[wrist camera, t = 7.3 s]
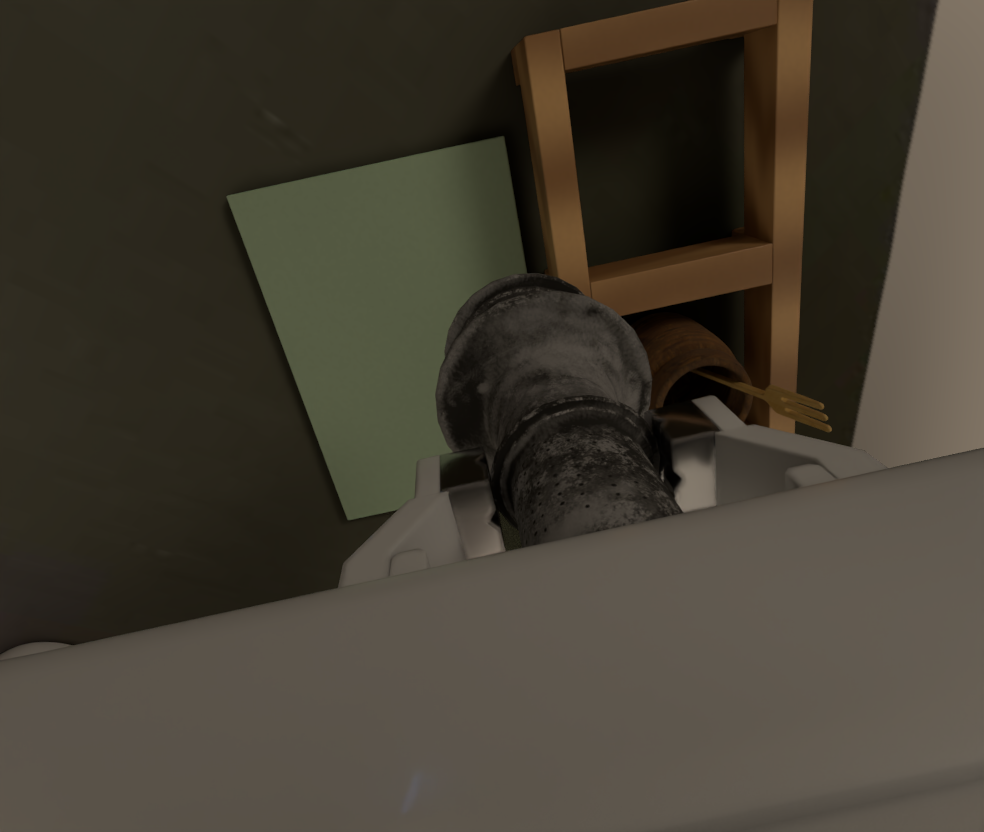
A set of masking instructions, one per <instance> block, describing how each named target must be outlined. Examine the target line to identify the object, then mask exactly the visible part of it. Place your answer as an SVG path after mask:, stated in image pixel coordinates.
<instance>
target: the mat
mask: <svg viewBox="0 0 984 832" xmlns="http://www.w3.org/2000/svg"><path fill="white" fill-rule="evenodd" d="M227 200H228V203H229V205H230V208H231V211H232V213H233V216H234V219H235V221H236V224H237V227H238V229H239V232H240V235H241V237H242V240H243V243H244V245H245V248H246V251H247V253H248V256H249V259H250V261H251V264H252V267H253V269H254V272H255V275H256V277H257V280H258V283H259V285H260V288H261V291H262V293H263V296H264V299H265V301H266V304H267V307H268V309H269V312H270V315H271V317H272V320H273V323H274V325H275V328H276V331H277V333H278V336H279V339H280V341H281V344H282V347H283V349H284V352H285V355H286V357H287V360H288V363H289V365H290V368H291V371H292V373H293V376H294V379H295V381H296V384H297V387H298V389H299V392H300V395H301V397H302V400H303V403H304V405H305V408H306V411H307V413H308V416H309V419H310V421H311V424H312V427H313V429H314V432H315V435H316V437H317V440H318V443H319V445H320V448H321V451H322V453H323V456H324V459H325V461H326V464H327V467H328V469H329V472H330V475H331V477H332V480H333V483H334V485H335V488H336V491H337V493H338V496H339V498H340V501H341V504H342V506H343V509H344V512H345V514H346V517H347V520H353V519H357V518H362V517H367V516H371V515H376V514H381V513H385V512H390V511H395V510H398V509H399V508H400V507H401V506H402V505H403V504H405V503H406V502H407V501H408V500H409V499H414V497H415V480H416V463H417V461H418V460H419V459H423V458H427V457H431V456H435V455H442V454H447V453H452V450H451V449H450V448H449V447H448V445H447V443H446V441H445V438H444V436H443V433H442V431H441V428H440V426H439V423H438V419H437V409H436V398H435V392H436V387H437V382H438V377H439V371H440V367H441V365H442V363H443V361H444V359H445V353H444V350H445V345H446V340H447V335H448V330H449V328H450V326H451V324H452V322H453V320H454V318H455V316H456V314H457V312H458V310H459V309H460V308H461V307H462V306H463V305H464V304H465V302H466V301H467V300H468V299H469V298H470V297H471V296H472V295H473V294H474V293H475V292H477V291H478V290H480V289H481V288H483V287H484V286H486V285H487V284H489V283H490V282H492V281H495V280H498V279H501V278H504V277H507V276H510V275H513V274H526V273H527V268H526V262H525V256H524V250H523V244H522V238H521V232H520V226H519V220H518V214H517V208H516V202H515V196H514V190H513V184H512V178H511V172H510V166H509V160H508V154H507V148H506V142H505V137H504V136H499V137H494V138H490V139H485V140H480V141H476V142H471V143H466V144H462V145H457V146H453V147H448V148H443V149H439V150H434V151H430V152H425V153H420V154H416V155H411V156H407V157H402V158H397V159H393V160H388V161H384V162H379V163H374V164H370V165H365V166H361V167H356V168H351V169H347V170H342V171H338V172H333V173H328V174H324V175H319V176H315V177H310V178H305V179H301V180H296V181H292V182H287V183H282V184H278V185H273V186H269V187H264V188H259V189H255V190H250V191H246V192H241V193H236V194H232V195H228V196H227Z"/></svg>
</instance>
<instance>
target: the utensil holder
mask: <svg viewBox="0 0 984 832" xmlns="http://www.w3.org/2000/svg"><path fill="white" fill-rule="evenodd" d="M630 326H631V327H632V328H633V329H634V330H635V332H636V334H637V336H638V338H639V339H640V341H641V343H642V345H643V347H644V349H645V350H646V352H647V356H648V361H649V365H650V370H651V375H652V388H651V400H650V406H649V409H648V410H652V409H656V408H660V407H664V406H668V405H672V404H676V403H680V402H684V401H689V400H694V399H698V398H702V397H705V396H709V395H712V396H715V397H716V398H717V399H719V400H720V401H721V402H722V403H723V404H724V405H725V406H726V407H727V408H728V409H729V410H731V411H732V412H733V413H734V414H735V415H736V416H737V417H738V418H739V419H740V420H741V421H742V422H744V421H745V419H746V418H747V416H748V414H749V411H750V409H751V405H752V400H753V396H756V397H759V398H761V399H764V400H765V401H766V402H767V403H768V404H769V405H770V406H771V408H772V409H773V410H774V411H775V412H776V413H778V414H780V415H783V416H785V417H788V418H791V419H793V420H796V421H799V422H802V423H804V424H807V425H810V426H813V427H815V428H818V429H821V430H824V431H826V432H831V431H832V428H831V427H830V426H829V425H826V424H824V423H822V422H819V421H817V420H814V419H812V418H810V417H807V416H805V415H803V414H806V415H808V416H811V417H814V418H817V419H820V420H823V421H826V420H828V417H827V415H825V414H823V413H821V412H818V411H816V410H813V409H811V408H808V407H806V406H803V405H801V404H798V403H796V402H799V403H802V404H805V405H808V406H811V407H814V408H817V409H820V410H822V409H823V408H824V405H823V404H822V403H820V402H818V401H815V400H812V399H810V398H807V397H805V396H802V395H799V394H797V393H794V392H791V391H789V390H786V389H783V388H781V387H778V386H775V385H772V384H771V385H769V386H768V387H766V389H765V391H764V390H761V389H758V388H755V387H753V386H752V383H751V380H750V378H749V376H748V374H747V373H746V371H745V369H744V368H743V367H742V365H741V364H740V363H739V362H738V361H737V360H736V358H735V357H734V355H733V353H732V352H731V350H730V349H729V348H728V347H727V345H726V344H725V343H724V342H723V341H721V340H720V339H719V338H718V337H717V336H715V335H714V334H713V333H711V332H710V331H709V330H707V329H706V328H705V327H703V326H702V325H700V324H699V323H697V322H696V321H694V320H693V319H691V318H689V317H687V316H684V315H681V314H678V313H673V312H659V313H654V314H650V315H647V316H645V317H643V318H641V319H639V320H637V321H636V322H634V323H633V324H631V325H630ZM788 399H790V400H788ZM791 400H793V401H796V402H793V401H791ZM793 410H794V411H793ZM795 411H797V412H795ZM798 412H800V413H803V414H800V413H798Z"/></svg>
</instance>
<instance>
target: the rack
mask: <svg viewBox="0 0 984 832" xmlns="http://www.w3.org/2000/svg"><path fill="white" fill-rule="evenodd" d="M812 13H813V0H689V1H685V2H680V3H676V4H671V5H666V6H662V7H657V8H653V9H648V10H644V11H639V12H634V13H630V14H625V15H621V16H616V17H611V18H607V19H602V20H598V21H593V22H589V23H584V24H579V25H575V26H570V27H566V28H561V29H560V30H552V31H548V32H543V33H538V34H534V35H529V36H525V37H524V38H523V39H522V40H521V41H520V42H519V43H518V44H517V45H516V46H515V47H514V48H513V49H512V50H511V56H512V63H513V69H514V76H515V82H516V86H518V85H521V92H522V99H523V105H524V112H525V119H526V125H527V132H528V139H529V145H530V152H531V159H532V165H533V172H534V179H535V185H536V192H537V198H538V205H539V212H540V218H541V225H542V232H543V238H544V245H545V252H546V258H547V265H548V269H546V270H544V271H545V275H549V276H554V277H558V278H560V279H562V280H564V281H566V282H568V283H570V284H572V285H573V286H575V287H577V288H578V289H579V290H580V291H581V292H582V293H583V294H584V295H585V296H588V297H590V298H592V299H594V300H596V301H598V302H600V303H602V304H604V305H606V306H608V307H609V308H611V309H613V310H614V311H615V312H616V313H617V314H618V315H620V316H624V315H628V314H633V313H638V312H642V311H647V310H651V309H656V308H661V307H665V306H670V305H675V304H679V303H684V302H689V301H693V300H698V299H703V298H707V297H712V296H716V295H721V294H726V293H730V292H735V291H740V290H744V369H745V371H746V373H747V374H748V376H749V378H750V380H751V383H752V386H753V387H755V388H758V389H761V390H764V391H765V389H766V387H768V386H769V385H771V384H772V385H775V386H778V387H781V388H783V389H786V390H789V391H791V392H794V393H796V386H797V362H798V339H799V316H800V293H801V269H802V246H803V223H804V200H805V176H806V153H807V130H808V107H809V83H810V60H811V37H812ZM743 36H744V227H742V228H737V229H733V230H732V237H727V238H723V239H718V240H713V241H709V242H704V243H699V244H695V245H690V246H686V247H681V248H676V249H672V250H667V251H662V252H658V253H653V254H649V255H644V256H639V257H635V258H630V259H625V260H621V261H616V262H611V263H607V264H602V265H598V266H593V267H588V264H587V256H586V248H585V239H584V231H583V223H582V214H581V206H580V198H579V189H578V181H577V173H576V164H575V156H574V147H573V139H572V131H571V122H570V114H569V106H568V97H567V89H566V81H565V74H567V73H572V72H576V71H581V70H585V69H590V68H595V67H599V66H604V65H608V64H613V63H618V62H622V61H627V60H631V59H636V58H641V57H645V56H650V55H654V54H659V53H663V52H668V51H673V50H677V49H682V48H686V47H691V46H696V45H700V44H705V43H709V42H714V41H719V40H723V39H728V38H729V39H734V38H739V37H743ZM788 400H790V399H788ZM791 401H793V400H791ZM793 402H796V401H793ZM793 411H794V410H793ZM744 423H745V424H746V425H747V426H748V425H753V424H755V425H759V426H763V427H768V428H772V429H776V430H780V431H784V432H789V433H793V434H794V432H795V420H793V419H791V418H788V417H785V416H783V415H780V414H778V413H776V412H775V411H774V410H773V409H772V408H771V406H770V405H769V404H768V403H767V402H766V401H765V400H764V399H761V398H759V397H756V396H753V400H752V405H751V409H750V411H749V414H748V416H747V418H746V419H745V421H744Z"/></svg>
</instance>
